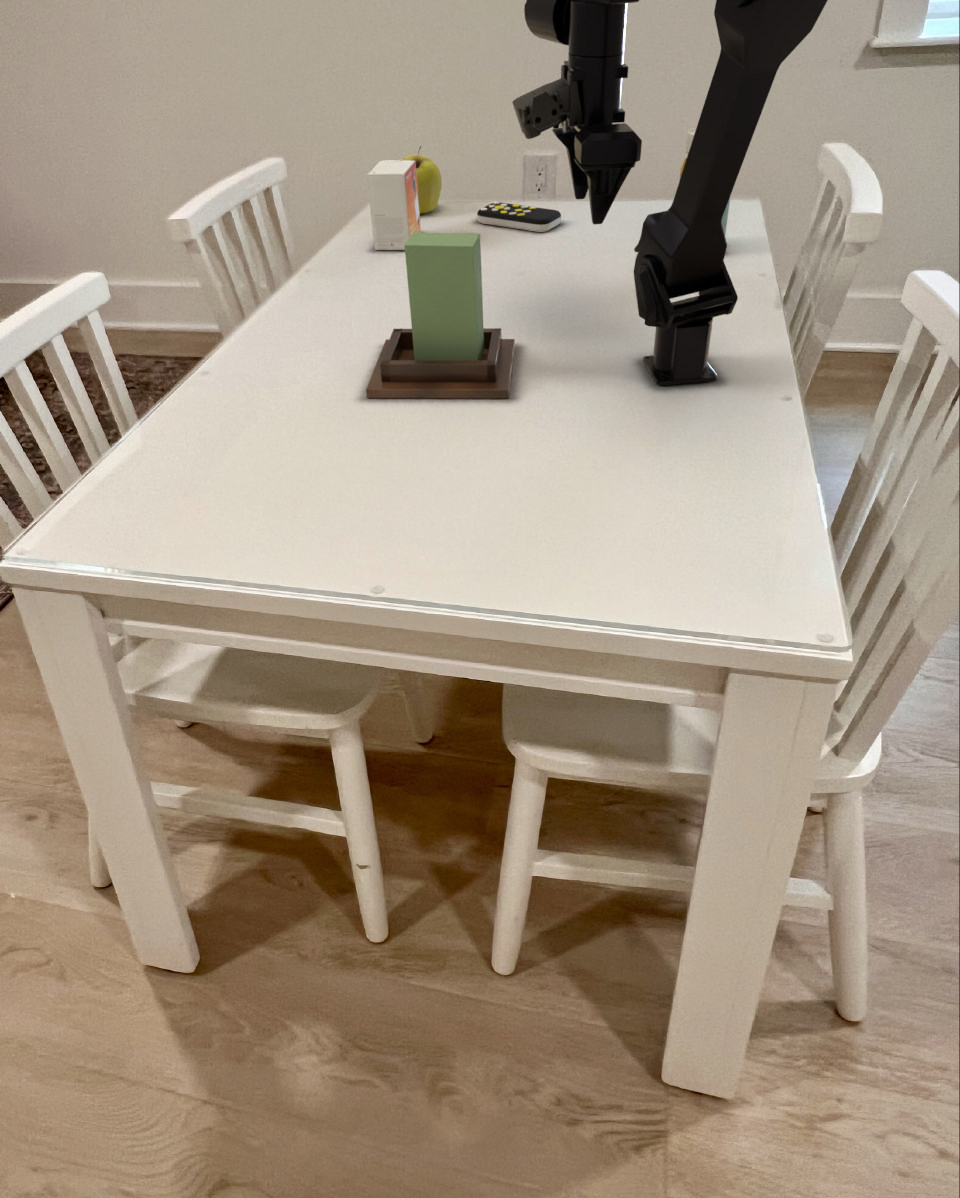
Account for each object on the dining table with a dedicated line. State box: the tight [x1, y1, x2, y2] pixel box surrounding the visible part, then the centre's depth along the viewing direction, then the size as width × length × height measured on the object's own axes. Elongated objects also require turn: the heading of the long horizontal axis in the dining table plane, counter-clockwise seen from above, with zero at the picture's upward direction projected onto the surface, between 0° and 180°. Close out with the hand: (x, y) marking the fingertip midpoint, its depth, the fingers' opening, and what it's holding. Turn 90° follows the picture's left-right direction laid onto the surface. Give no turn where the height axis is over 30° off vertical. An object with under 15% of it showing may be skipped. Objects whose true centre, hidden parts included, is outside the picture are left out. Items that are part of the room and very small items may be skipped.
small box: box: [365, 159, 422, 251], centre depth 130 cm, size 8×6×10 cm
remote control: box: [476, 201, 562, 233], centre depth 138 cm, size 6×13×2 cm, turn 58°
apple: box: [399, 145, 443, 214], centre depth 142 cm, size 8×8×10 cm
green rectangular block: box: [404, 232, 485, 360], centre depth 94 cm, size 4×7×13 cm, turn 80°
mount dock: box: [365, 327, 516, 399], centre depth 97 cm, size 15×13×3 cm
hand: (588, 210), depth 101 cm, fingers open, 9 cm apart
